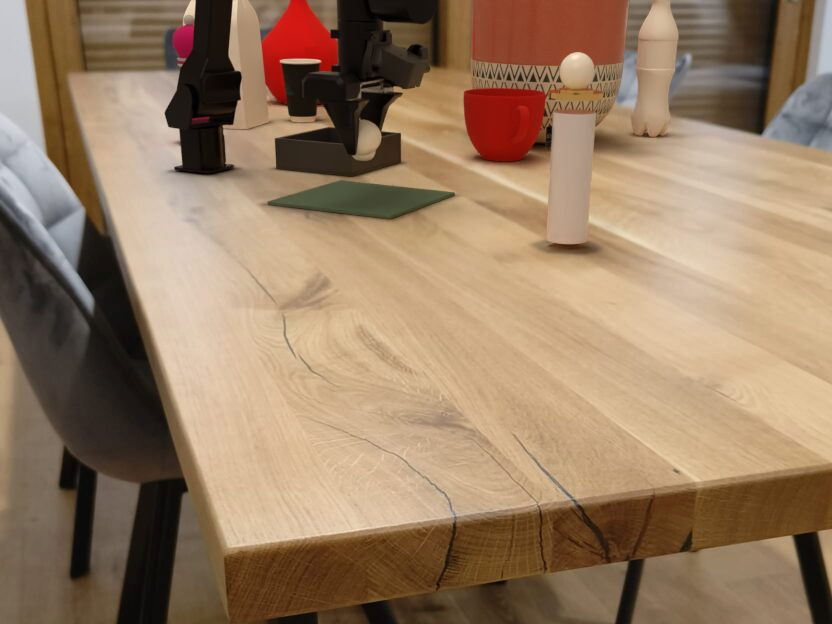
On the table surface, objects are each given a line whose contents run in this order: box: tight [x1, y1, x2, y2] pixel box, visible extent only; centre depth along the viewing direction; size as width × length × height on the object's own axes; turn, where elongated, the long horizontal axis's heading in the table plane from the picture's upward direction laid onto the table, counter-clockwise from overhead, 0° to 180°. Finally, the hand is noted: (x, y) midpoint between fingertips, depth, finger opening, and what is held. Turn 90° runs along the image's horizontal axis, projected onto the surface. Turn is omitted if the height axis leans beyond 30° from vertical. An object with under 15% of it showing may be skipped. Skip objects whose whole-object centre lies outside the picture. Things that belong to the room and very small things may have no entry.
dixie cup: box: [280, 59, 321, 123], centre depth 215 cm, size 8×8×11 cm
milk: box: [182, 0, 270, 130], centre depth 206 cm, size 12×12×26 cm
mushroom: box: [352, 120, 381, 161], centre depth 143 cm, size 5×5×5 cm
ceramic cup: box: [463, 88, 546, 162], centre depth 175 cm, size 13×17×10 cm
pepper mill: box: [171, 15, 209, 120], centre depth 186 cm, size 7×7×20 cm
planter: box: [470, 0, 631, 144], centre depth 191 cm, size 27×27×27 cm
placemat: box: [267, 179, 456, 220], centre depth 146 cm, size 18×18×1 cm
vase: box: [261, 0, 338, 105], centre depth 239 cm, size 18×18×30 cm
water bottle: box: [630, 0, 680, 138], centre depth 200 cm, size 7×7×25 cm
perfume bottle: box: [544, 52, 603, 245], centre depth 119 cm, size 6×6×20 cm
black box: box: [274, 126, 402, 177], centre depth 170 cm, size 15×13×4 cm
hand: (362, 152), depth 143 cm, fingers closed on mushroom, 5 cm apart
